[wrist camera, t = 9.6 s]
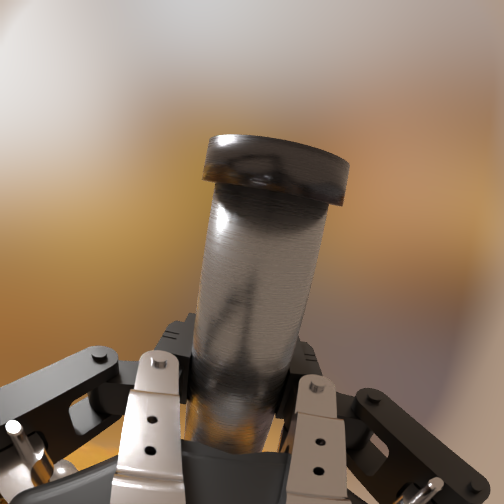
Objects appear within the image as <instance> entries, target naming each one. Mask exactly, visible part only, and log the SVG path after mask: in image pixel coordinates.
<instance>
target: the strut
mask: <svg viewBox="0 0 504 504" xmlns="http://www.w3.org/2000/svg"><path fill="white" fill-rule="evenodd" d="M349 167H350V165H349V163H348V162H347V161H345V160H344V159H342V158H340V157H338V156H336V155H334V154H332V153H329V152H326V151H324V150H321V149H318V148H314V147H311V146H308V145H304V144H300V143H296V142H291V141H287V140H281V139H276V138H269V137H262V136H252V135H219V136H215V137H212V138H210V139H209V144H208V150H207V155H206V160H205V166H204V171H203V177H202V180H204V181H209V182H215V189H214V194H213V200H212V206H211V212H210V218H209V225H208V231H207V237H206V244H205V251H204V257H203V265H202V271H201V279H200V286H199V294H198V301H197V309H196V317H195V326H194V335H193V344H192V356H191V365H190V376H189V387H188V398H187V408H186V422H185V436H184V440H188V441H193V442H198V443H201V444H204V445H207V446H209V447H212V448H215V449H218V450H221V451H224V452H226V453H230V454H249V453H260V452H262V450H263V447H264V444H265V441H266V438H267V435H268V432H269V430H270V427H271V424H272V420H273V418H274V415H275V412H276V408H277V405H278V402H279V399H280V396H281V393H282V390H283V386H284V383H285V380H286V376H287V373H288V370H289V366H290V363H291V359H292V356H293V353H294V349H295V345H296V342H297V338H298V334H299V331H300V327H301V323H302V320H303V316H304V312H305V308H306V304H307V300H308V296H309V292H310V288H311V284H312V280H313V275H314V271H315V267H316V262H317V258H318V253H319V249H320V245H321V240H322V235H323V230H324V226H325V221H326V215H327V211H328V206H329V204H332V205H337V206H343V201H344V196H345V190H346V185H347V179H348V173H349Z"/></svg>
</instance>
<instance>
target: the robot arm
mask: <svg viewBox="0 0 504 504" xmlns="http://www.w3.org/2000/svg"><path fill="white" fill-rule="evenodd" d="M195 317H196V314H194V313H189V314H188V316H187V318H186V320H185V322H180V321H174V322H173V323H171V324H169V325H168V327H167V328H166V330H165V332H164V333H163V336H162V337H161V339H160V341H159V342H158V344H157V345H156V347H155V349H154V350H153V351H148V352H146V353H144V354H143V355H142V356H141V357H140V361H120V360H118V354H117V353H116V352H115V351H114V350H113V349H111V348H108V347H104V346H92V347H89V348H86V349H84V350H82V351H80V352H78V353H76V354H73V355H71V356H69V357H67V358H65V359H63V360H60V361H58V362H56V363H54V364H52V365H49V366H47V367H45V368H43V369H41V370H39V371H36V372H34V373H32V374H30V375H27V376H25V377H23V378H21V379H19V380H16V381H14V382H12V383H10V384H7V385H5V386H3V387H1V388H0V493H1V495H2V496H3V497H4V499H5V500H6V501H7V503H8V504H368V503H366V502H365V501H363V500H362V499H361V498H359V497H358V496H356V495H355V494H354V493H352V492H351V491H350V490H348V489H347V477H346V475H347V474H346V466H347V467H348V468H349V470H350V471H351V472H352V473H353V474H354V476H355V477H356V478H357V479H358V480H359V481H360V482H361V484H362V485H363V486H364V487H365V488H366V489H367V491H369V493H370V494H371V495H372V496H373V497H374V498H375V499H376V501H377V502H379V504H482V503H483V502H484V501H485V500H486V499H487V498H488V496H489V494H490V485H489V482H488V481H487V479H486V478H485V477H484V476H482V475H481V474H480V473H479V472H477V471H476V470H475V469H474V468H472V467H471V466H470V465H468V464H467V463H466V462H465V461H464V460H463V459H461V458H460V457H459V456H458V455H456V454H455V453H454V452H453V451H452V450H450V449H449V448H448V447H447V446H446V445H444V444H443V443H442V442H441V441H440V440H438V439H437V438H436V437H435V436H433V435H432V434H431V433H430V432H429V431H427V430H426V429H425V428H424V427H423V426H422V425H421V424H419V423H418V422H417V421H416V420H415V419H413V418H412V417H411V416H410V415H409V414H407V413H406V412H405V411H404V410H403V409H402V408H400V407H399V406H398V405H397V404H396V403H395V402H393V401H392V400H391V399H390V398H389V397H388V396H386V395H385V394H384V393H383V392H381V391H379V390H376V389H372V388H364V389H360V390H359V391H358V392H357V394H356V396H355V397H353V396H349V395H345V394H341V393H338V392H336V388H335V385H334V384H333V382H332V381H330V380H329V379H327V378H325V377H323V376H322V372H321V370H320V367H319V364H318V362H317V358H316V356H315V353H314V350H313V348H312V347H311V346H310V345H309V344H308V343H307V342H301V341H300V339H299V336H298V338H297V342H296V345H295V349H294V353H293V356H292V359H291V363H290V366H289V370H288V373H287V376H286V380H285V383H284V386H283V390H282V393H281V396H280V399H279V402H278V405H277V408H276V412H275V416H276V418H280V419H284V422H285V423H284V425H283V428H282V431H281V435H280V440H279V445H278V449H277V452H260V453H249V454H230V453H226V452H224V451H221V450H218V449H215V448H212V447H209V446H207V445H204V444H201V443H198V442H193V441H188V440H183V439H181V438H180V437H181V436H180V403H181V404H186V402H187V398H188V387H189V376H190V365H191V356H192V344H193V335H194V326H195ZM86 393H87V394H88V397H86V398H84V399H83V400H81V401H79V402H78V403H76V404H75V405H73V406H71V407H70V405H71V403H72V402H73V401H74V400H76V399H78V398H79V397H81V396H82V395H84V394H86ZM122 415H125V419H124V425H123V431H122V437H121V443H120V450H119V455H116V456H114V457H112V458H110V459H107V460H105V461H103V462H100V463H98V464H96V465H93V466H91V467H88V468H86V469H84V470H81V471H78V472H76V473H73V474H71V475H68V476H65V477H62V478H60V479H57V480H54V481H51V482H50V478H51V477H52V475H53V472H54V464H56V463H57V462H59V461H60V460H62V459H63V458H65V457H66V456H68V455H69V454H71V453H72V452H74V451H75V450H77V449H78V448H80V447H81V446H82V445H84V444H85V443H87V442H88V441H90V440H91V439H92V438H94V437H95V436H97V435H98V434H99V433H101V432H102V431H104V430H105V429H106V428H108V427H109V426H111V425H112V424H113V423H115V422H116V421H117V420H119V419H120V418H121V417H122ZM374 433H375V434H376V435H377V436H378V437H379V438H380V439H381V440H382V441H383V442H384V443H385V444H386V445H387V447H388V449H389V456H388V458H387V457H386V456H384V454H383V453H382V452H381V451H380V450H379V449H378V448H377V447H376V446H375V445H374V444H373V443H372V442H371V441H370V438H371V437H372V435H373V434H374Z"/></svg>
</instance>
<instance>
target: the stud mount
mask: <svg viewBox="0 0 504 504" xmlns="http://www.w3.org/2000/svg"><path fill="white" fill-rule="evenodd" d="M76 472H78V470H77V469H76V468H75V466H74V465H73V464H72V463H70V462H69V461H67V460H64V459H62V460H60V461H59V462H57V463H56V464H54V472H53V475H52V477H51V478H50V482H51V481H54V480H57V479H60V478H62V477H65V476H68V475H71V474H73V473H76Z"/></svg>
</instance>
